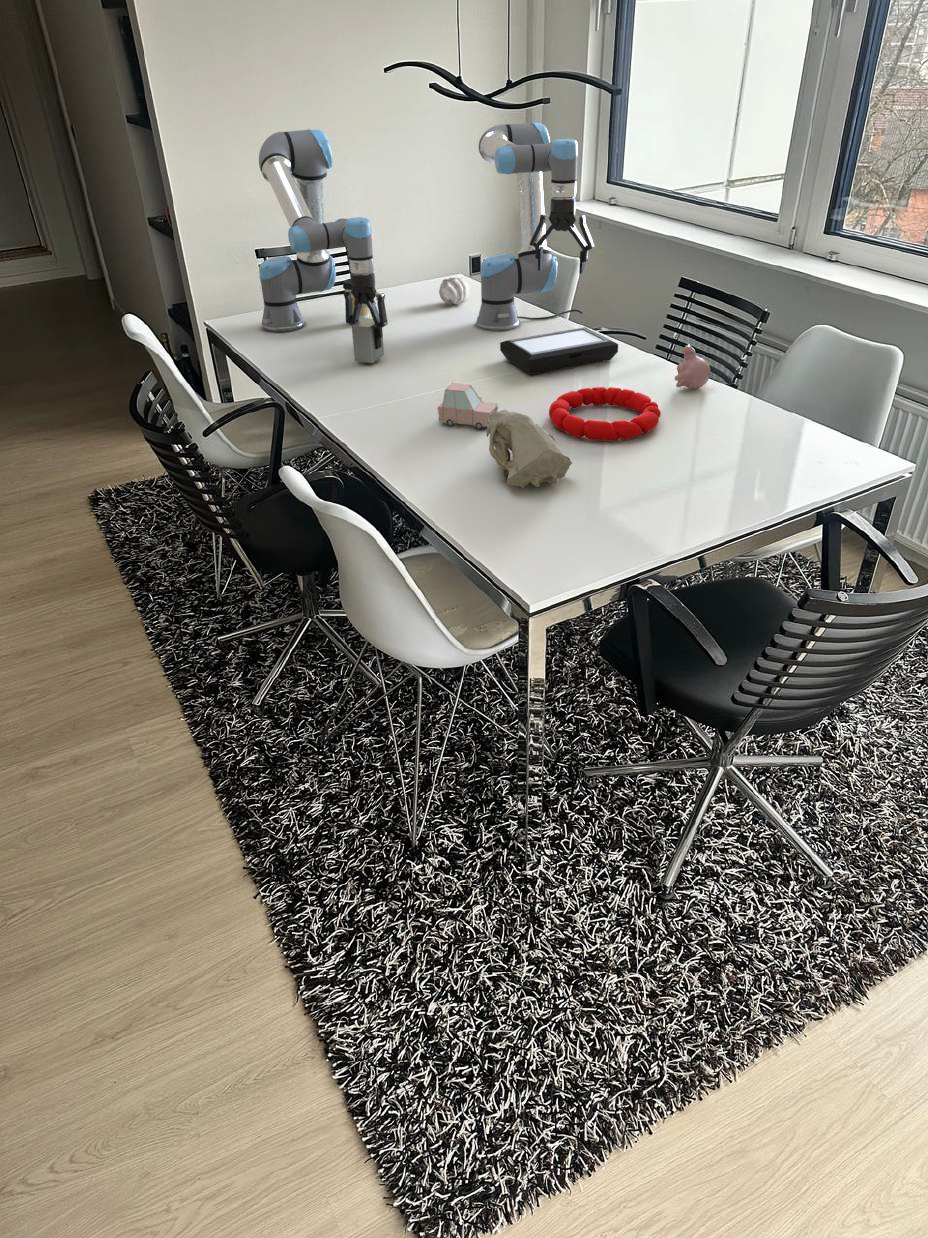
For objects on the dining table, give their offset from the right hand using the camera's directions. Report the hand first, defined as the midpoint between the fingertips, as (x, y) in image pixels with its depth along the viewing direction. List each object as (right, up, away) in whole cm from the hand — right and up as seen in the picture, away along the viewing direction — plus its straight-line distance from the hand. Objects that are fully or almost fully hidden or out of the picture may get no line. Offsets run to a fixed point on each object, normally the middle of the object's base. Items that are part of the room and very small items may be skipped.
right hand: (560, 271), depth 280 cm
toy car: (-29, -56, -34) cm, 72 cm away
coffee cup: (-69, -1, +47) cm, 83 cm away
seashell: (-34, +12, +64) cm, 74 cm away
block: (-61, -24, +10) cm, 67 cm away
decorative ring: (+8, -56, -36) cm, 67 cm away
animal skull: (-16, -73, -60) cm, 96 cm away
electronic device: (0, -26, +7) cm, 27 cm away
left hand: (-61, -21, +8) cm, 66 cm away
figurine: (+36, -42, -18) cm, 58 cm away
